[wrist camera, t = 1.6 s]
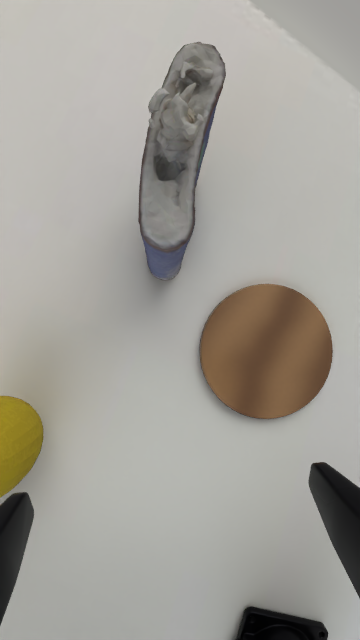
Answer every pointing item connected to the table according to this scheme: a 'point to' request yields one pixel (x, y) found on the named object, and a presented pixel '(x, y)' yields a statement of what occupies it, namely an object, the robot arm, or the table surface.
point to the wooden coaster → (266, 351)
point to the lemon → (17, 441)
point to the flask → (177, 154)
